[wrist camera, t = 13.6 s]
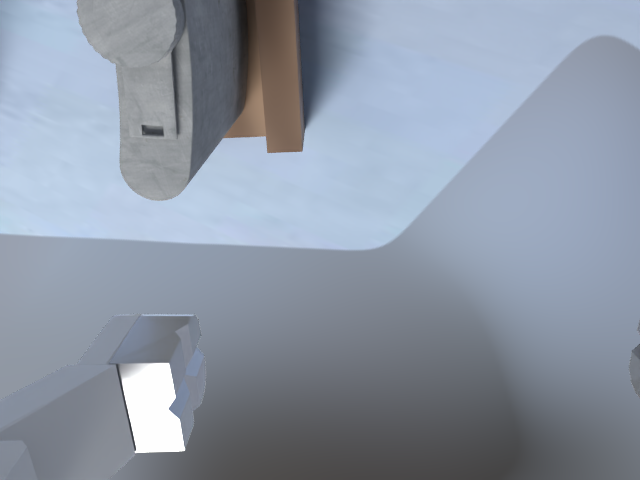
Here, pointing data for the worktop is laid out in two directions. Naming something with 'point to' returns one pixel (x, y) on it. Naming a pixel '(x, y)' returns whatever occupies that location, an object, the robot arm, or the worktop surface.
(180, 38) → the hip flask
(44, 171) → the worktop surface
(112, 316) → the robot arm
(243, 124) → the u rest
